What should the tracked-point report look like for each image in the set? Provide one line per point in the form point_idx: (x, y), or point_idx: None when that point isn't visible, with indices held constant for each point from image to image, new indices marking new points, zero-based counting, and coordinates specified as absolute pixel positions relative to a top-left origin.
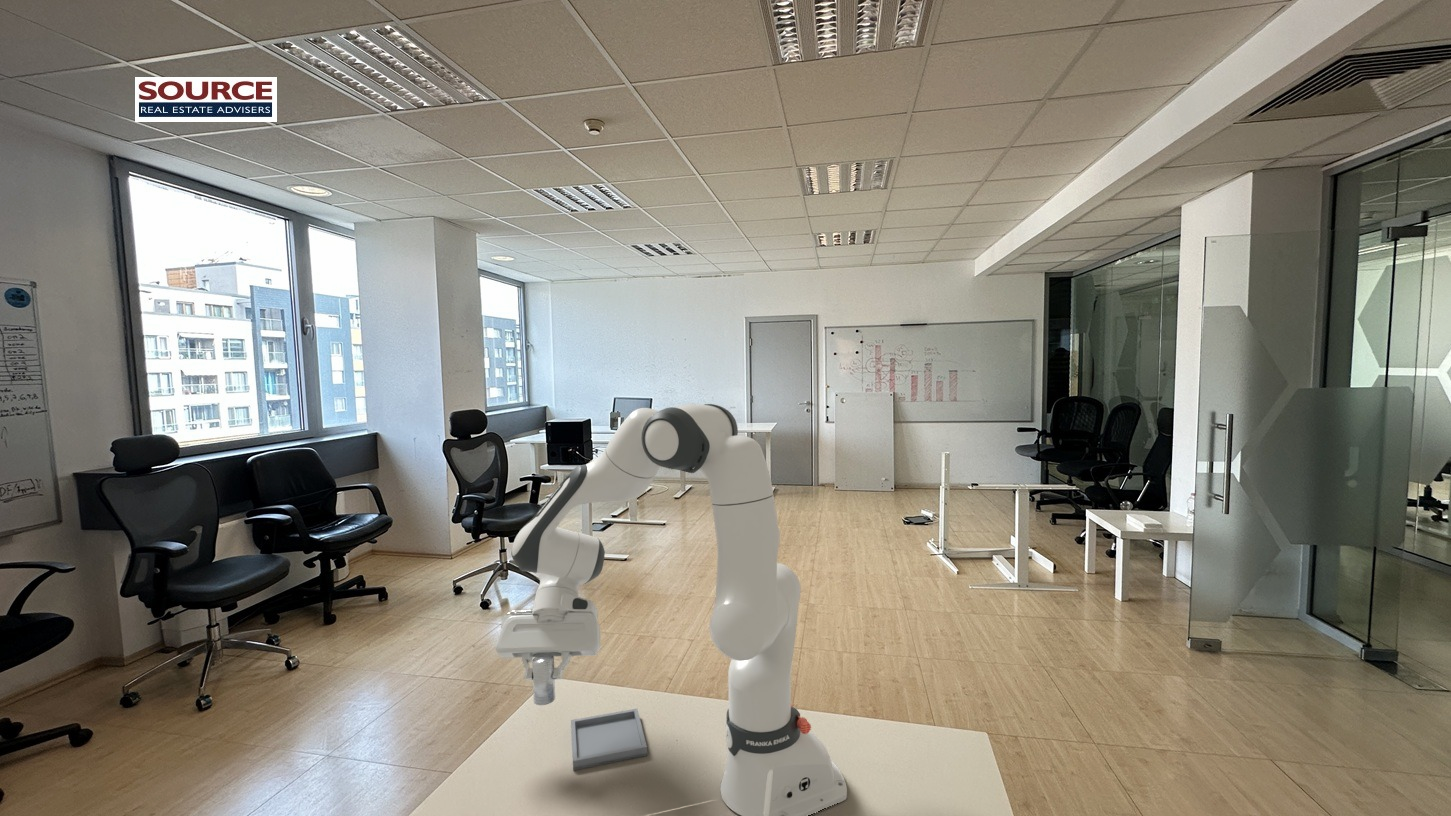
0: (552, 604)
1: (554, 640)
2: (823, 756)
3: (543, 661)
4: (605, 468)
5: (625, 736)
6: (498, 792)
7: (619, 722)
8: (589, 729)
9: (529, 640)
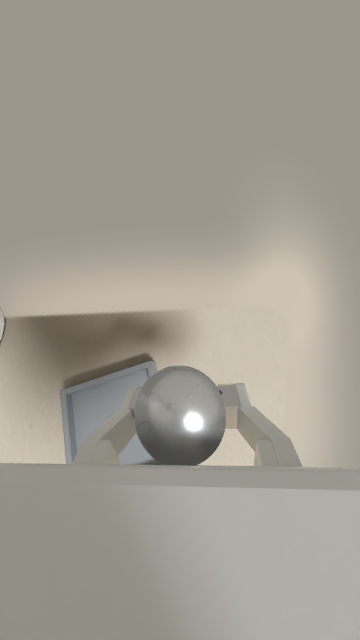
0: None
1: (117, 541)
2: None
3: (171, 392)
4: None
5: (93, 429)
6: (232, 325)
7: None
8: (147, 452)
9: (310, 559)
